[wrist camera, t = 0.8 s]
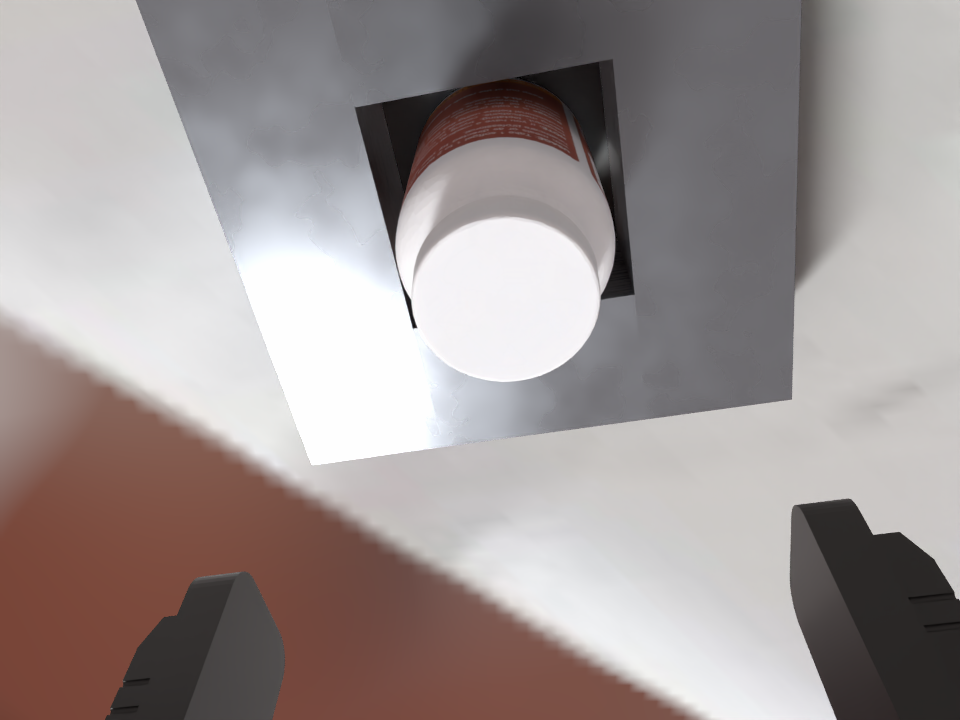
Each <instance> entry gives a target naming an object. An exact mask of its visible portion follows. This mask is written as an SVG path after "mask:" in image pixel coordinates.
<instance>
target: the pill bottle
mask: <svg viewBox="0 0 960 720" xmlns="http://www.w3.org/2000/svg"><path fill="white" fill-rule="evenodd" d="M395 251H396V261H397V266H398V270H399V274H400V277H401V280H402V283H403V285H404V288H405V290H406V292H407V294H408V295H409V297H410V299H411V302H412V310H413V316H414V319H415V322H416V325H417V328H418V330H419V332H420V334H421V336H422V338H423V339H424V341H425V342H426V344H427V345H428V346H429V348H430V349H431V350H432V351H433V352H434V353H435V354H436V356H438V357H439V358H440V359H441V360H443V361H444V362H445V363H446V364H448V365H449V366H451V367H453V368H455V369H456V370H458V371H460V372H462V373H464V374H467V375H469V376H472V377H476V378H480V379H484V380H489V381H499V382H509V381H521V380H526V379H531V378H534V377H538V376H541V375H543V374H545V373H548V372H550V371H552V370H554V369H556V368H557V367H559V366H561V365H562V364H564V363H565V362H566V361H568V360H569V359H570V358H572V357H573V356H574V355H575V354H576V353H577V352H578V351H579V350H580V349H581V347H582V346H583V345H584V343H585V342H586V341H587V339H588V338H589V336H590V334H591V332H592V330H593V328H594V326H595V323H596V321H597V318H598V314H599V308H600V301H601V294H602V293H603V291H604V289H605V287H606V285H607V282H608V280H609V277H610V274H611V271H612V267H613V263H614V256H615V231H614V225H613V220H612V216H611V211H610V208H609V205H608V202H607V199H606V197H605V194H604V191H603V188H602V185H601V182H600V179H599V176H598V172H597V170H596V167H595V164H594V161H593V158H592V155H591V152H590V149H589V146H588V144H587V141H586V139H585V136H584V133H583V131H582V129H581V126H580V125H579V123H578V121H577V119H576V118H575V116H574V115H573V113H572V112H571V111H570V109H569V108H568V107H567V106H566V105H565V104H564V103H563V102H562V100H560V99H559V98H558V97H557V96H555V95H554V94H553V93H551V92H550V91H548V90H546V89H545V88H543V87H541V86H539V85H536V84H534V83H531V82H528V81H525V80H521V79H516V78H509V79H504V80H499V81H493V82H488V83H483V84H477V85H472V86H467V87H461V88H459V89H458V90H456V91H454V92H453V93H452V94H450V95H449V96H448V97H446V98H445V99H444V100H443V101H442V102H441V103H440V104H439V105H438V106H437V107H436V109H435V110H434V111H433V112H432V114H431V115H430V117H429V118H428V120H427V122H426V124H425V126H424V128H423V130H422V132H421V135H420V137H419V141H418V144H417V148H416V152H415V156H414V160H413V164H412V168H411V172H410V176H409V180H408V184H407V188H406V191H405V195H404V199H403V203H402V207H401V211H400V215H399V220H398V225H397V232H396V244H395Z"/></svg>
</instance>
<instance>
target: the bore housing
mask: <svg viewBox="0 0 960 720" xmlns="http://www.w3.org/2000/svg"><path fill="white" fill-rule="evenodd" d="M136 2H137V5H138V7H139V10H140V12H141V15H142V18H143V20H144V23H145V26H146V28H147V31H148V34H149V36H150V39H151V42H152V44H153V47H154V49H155V52H156V55H157V57H158V60H159V63H160V65H161V68H162V71H163V73H164V76H165V78H166V81H167V84H168V86H169V89H170V92H171V94H172V97H173V100H174V102H175V105H176V107H177V110H178V113H179V115H180V118H181V121H182V123H183V126H184V129H185V131H186V134H187V136H188V139H189V142H190V144H191V147H192V150H193V152H194V155H195V158H196V160H197V163H198V166H199V168H200V171H201V173H202V176H203V179H204V181H205V184H206V187H207V189H208V192H209V195H210V197H211V200H212V202H213V205H214V208H215V210H216V213H217V216H218V218H219V221H220V224H221V226H222V229H223V231H224V234H225V237H226V239H227V242H228V245H229V247H230V250H231V253H232V255H233V258H234V261H235V263H236V266H237V268H238V271H239V274H240V276H241V279H242V282H243V284H244V287H245V290H246V292H247V295H248V297H249V300H250V303H251V305H252V308H253V311H254V313H255V316H256V319H257V321H258V324H259V326H260V329H261V332H262V334H263V337H264V340H265V342H266V345H267V348H268V350H269V353H270V355H271V358H272V361H273V363H274V366H275V369H276V371H277V374H278V377H279V379H280V382H281V385H282V387H283V390H284V392H285V395H286V398H287V400H288V403H289V406H290V408H291V411H292V414H293V416H294V419H295V421H296V424H297V427H298V429H299V432H300V435H301V437H302V440H303V443H304V445H305V448H306V450H307V453H308V456H309V458H310V461H311V464H312V465H314V464H322V463H329V462H336V461H344V460H351V459H358V458H366V457H373V456H380V455H388V454H395V453H403V452H410V451H417V450H425V449H432V448H439V447H447V446H454V445H461V444H469V443H476V442H483V441H491V440H498V439H505V438H513V437H520V436H527V435H535V434H542V433H549V432H557V431H564V430H571V429H579V428H586V427H593V426H601V425H608V424H615V423H623V422H630V421H637V420H645V419H652V418H659V417H667V416H674V415H681V414H689V413H696V412H703V411H711V410H718V409H725V408H733V407H740V406H747V405H755V404H762V403H769V402H777V401H784V400H791V399H792V370H793V329H794V288H795V247H796V206H797V165H798V124H799V83H800V41H801V0H136ZM594 62H599V66H600V76H601V86H602V95H603V105H604V115H605V125H606V135H607V144H608V154H609V164H610V174H611V184H612V193H613V203H614V213H615V223H616V232H617V241H615V256H614V263H613V267H612V271H611V274H610V277H609V280H608V282H607V285H606V287H605V289H604V291H603V293H602V294H601V301H600V308H599V314H598V318H597V321H596V323H595V326H594V328H593V330H592V332H591V334H590V336H589V338H588V339H587V341H586V342H585V343H584V345H583V346H582V347H581V349H580V350H579V351H578V352H577V353H576V354H575V355H574V356H573V357H572V358H570V359H569V360H568V361H566V362H565V363H564V364H562V365H561V366H559V367H557V368H556V369H554V370H552V371H550V372H548V373H545V374H543V375H541V376H538V377H534V378H531V379H526V380H521V381H509V382H499V381H489V380H484V379H480V378H476V377H472V376H469V375H467V374H464V373H462V372H460V371H458V370H456V369H455V368H453V367H451V366H449V365H448V364H446V363H445V362H444V361H443V360H441V359H440V358H439V357H438V356H436V354H435V353H434V352H433V351H432V350H431V349H430V348H429V346H428V345H427V344H426V342H425V341H424V339H423V338H422V336H421V334H420V332H419V330H418V328H417V325H416V322H415V319H414V316H413V310H412V302H411V299H410V297H409V295H408V294H407V292H406V290H405V288H404V285H403V283H402V280H401V277H400V274H399V270H398V266H397V261H396V251H395V244H396V232H397V225H398V220H399V215H400V211H401V207H402V203H403V199H404V192H403V188H402V184H401V180H400V176H399V171H398V167H397V163H396V159H395V155H394V151H393V147H392V143H391V139H390V135H389V131H388V127H387V123H386V118H385V114H384V110H383V106H382V102H387V101H392V100H397V99H403V98H408V97H413V96H419V95H424V94H429V93H435V92H440V91H445V90H451V89H456V88H461V87H467V86H472V85H477V84H483V83H488V82H493V81H499V80H504V79H509V78H514V77H520V76H525V75H530V74H536V73H541V72H546V71H552V70H557V69H562V68H568V67H573V66H578V65H584V64H589V63H594Z"/></svg>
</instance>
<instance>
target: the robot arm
mask: <svg viewBox="0 0 960 720" xmlns="http://www.w3.org/2000/svg"><path fill="white" fill-rule="evenodd" d="M790 588H791V595H792V600H793V605H794V609H795V613H796V616H797V619H798V622H799V625H800V628H801V630H802V633H803V635H804V638H805V640H806V643H807V645H808V648H809V650H810V653H811V656H812V658H813V661H814V663H815V666H816V668H817V671H818V673H819V676H820V678H821V681H822V683H823V686H824V688H825V691H826V693H827V696H828V698H829V701H830V704H831V706H832V709H833V711H834V714H835V716H836V719H837V720H960V600H959V599H956V598H955V594H954V591H953V589H952V588H951V586H950V584H949V583H948V581H947V580H946V578H945V576H944V575H943V573H942V572H941V570H940V568H939V567H938V565H937V564H936V562H935V560H934V559H933V558H932V557H931V556H929V555H928V554H927V553H926V552H924V551H923V550H922V549H920V548H919V547H918V546H917V545H915V544H914V543H913V542H912V541H910V540H909V539H908V538H907V537H905V536H904V535H903V534H901V533H900V532H895V533H886V534H878V535H873V534H872V532H871V530H870V529H869V527H868V525H867V523H866V521H865V520H864V518H863V516H862V514H861V512H860V511H859V509H858V507H857V506H856V504H855V503H854V502H853V501H852V500H851V499H841V500H833V501H825V502H817V503H809V504H801V505H794V506H793V509H792V516H791V552H790ZM284 666H285V654H284V645H283V641H282V637H281V635H280V632H279V630H278V628H277V626H276V624H275V622H274V620H273V618H272V616H271V614H270V612H269V610H268V608H267V606H266V604H265V602H264V600H263V597H262V595H261V593H260V591H259V589H258V587H257V585H256V583H255V581H254V579H253V578H252V576H251V575H250V574H249V573H247V572H237V573H230V574H221V575H213V576H205V577H198V578H196V579H195V580H194V581H193V582H192V583H191V584H190V586H189V588H188V591H187V593H186V595H185V598H184V600H183V602H182V605H181V607H180V610H179V612H178V614H177V616H169V617H164V618H163V619H162V620H161V621H160V622H159V624H158V625H157V626H156V627H155V628H154V629H153V630H152V632H151V633H150V634H149V635H148V636H147V638H146V639H145V640H144V641H143V642H142V643H141V644H140V646H139V647H138V648H137V651H136V653H135V655H134V657H133V659H132V662H131V664H130V666H129V668H128V670H127V673H126V675H125V677H124V679H123V687H121V688H119V690H118V692H117V695H116V697H115V699H114V701H113V703H112V706H111V708H110V709H111V714H110V715H107V717H106V719H105V720H272V718H273V714H274V710H275V707H276V702H277V699H278V695H279V691H280V687H281V683H282V680H283V675H284Z"/></svg>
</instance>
